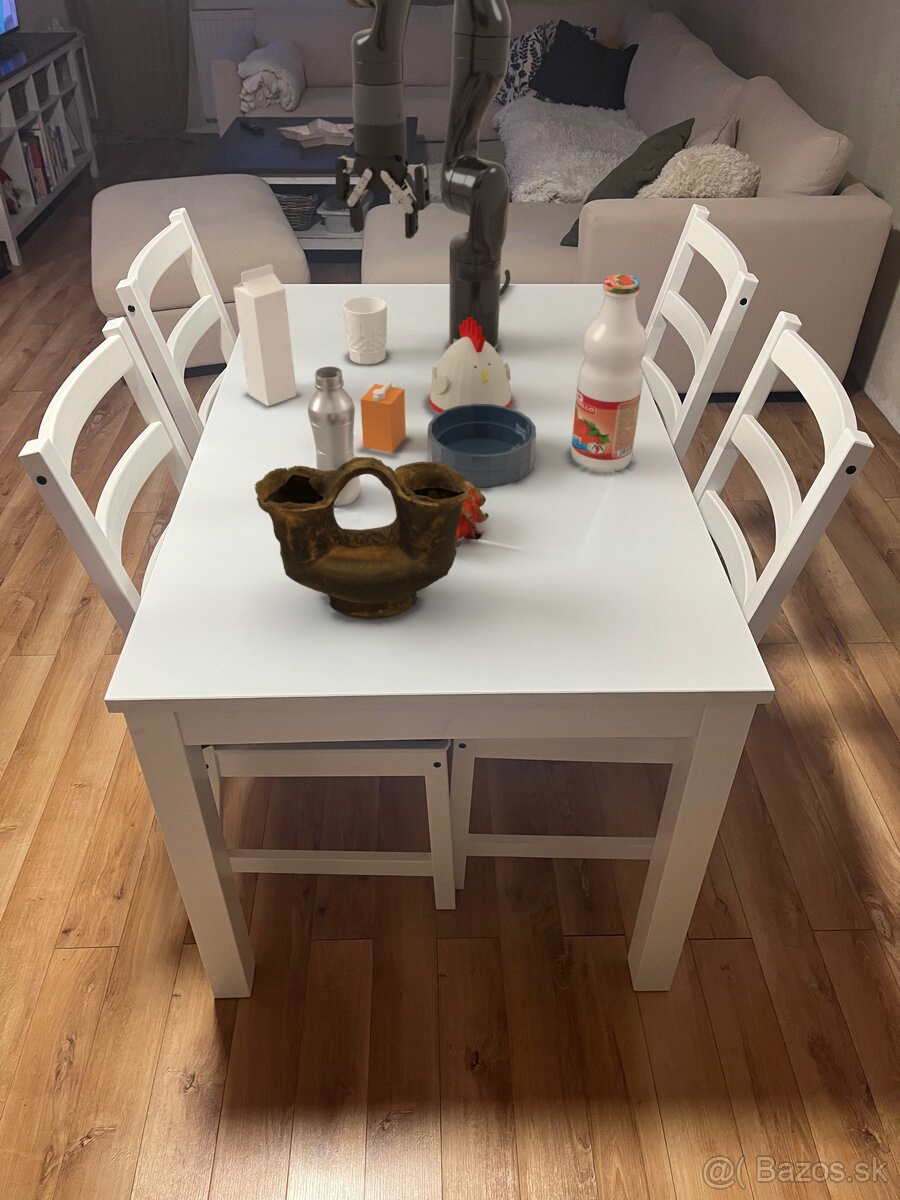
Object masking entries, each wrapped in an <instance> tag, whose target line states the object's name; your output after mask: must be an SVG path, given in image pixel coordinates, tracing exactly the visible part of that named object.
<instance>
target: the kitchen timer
mask: <svg viewBox="0 0 900 1200" xmlns="http://www.w3.org/2000/svg"><path fill="white" fill-rule="evenodd" d="M459 329H460V336H461V339H459V340H457V341H456V342H454V343H453V344H452V345H451V346H450V347H449V346H448V348H447V349H446V350H445V352H444V353H443V355H442V356H441V357H440V359H439V361H438V363H437V365H436V366H432V370H431V379H430V381H431V382H430V387H429V404H430V406H431V408H432V409H433V410H435V411H436V412H437V413H438V414H439V413H441V412H443V411H444V410H447V409H450V408H453V407H457V406H461V405H469V404H492V405H498V406H504V407H508V408H510V407H511V404H512V390H511V384H510V381H511V378H512V377H511V370H510V369H511V368H510V365H509V363H508V362H505V363H504V361H503V359H502V358H501V356H500V354H499V353H498V352H497V351H495V349H494V348H493V347H492V346H491V345H490V344H489V343H488V342H486V341H485V337H482V326H478V327H477V321H473V317H469V318H467V320H465V321H463V324H459Z"/></svg>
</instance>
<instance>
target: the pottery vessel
mask: <svg viewBox="0 0 900 1200" xmlns="http://www.w3.org/2000/svg"><path fill="white" fill-rule="evenodd" d="M363 475H371V476H373V477H375V478H377V479H378V480H379V481H380V482H381V484H382V485H383V486H384V487H385V488H386V489H387V490H389V492H390V495H391V498H392V501H393V505H394V508H395V519H394V520H393V521H392V522H391V523H390V524H388V525H385V526H379V527H372V528H364V529H355V528H343V527H341V525H339V524H338V521H337V519H336V517H335V510H334V509H335V506H334V502H335V500H336V499H337V497H338V495H339V493H340V492H341V491H342V490H343V488H344V487H345V486H346V484H347V483H348V482H349V481H350V480H351V479H353V478H355V477H358V476H359V477H360V476H363ZM464 479H465V477H464V476H461V475H460V474H459V473H458V472H456V471H454V470H452V469H451V468H449V467H448V466H447V465H445V464H441V463H439V462H428V461H416V462H410V463H407V464H403V465H399V466H398V467H396V468H395V469H393V468H392V467H391V466H388V465H386V464H385V463H384V462H383V461H382V459H377V458H375V457H374V456H373V457H372V456H355V458H353V459H351V460H350V461H348V462H346V463H344V464H342V465H341V466H340V467H339V468H338V469H337V470H331V471H322V470H318V469H317V468H315V467H310V466H307V465H306V466H305V465H294V466H291V467H284V468H282V467H279V468H274V469H273V470H270V471H268V473H267V474H264V476H263V478H262V479H260V480H257V481H256V483H255V484H254V490H255V493H256V498H255V499H256V501H257V504H258V507H259V508H260V509H261V510H262V511H264V512H265V513H267V514H268V515H269V517H270V519H271V522H272V527H273V528H272V529H273V534H274V537H275V539H276V540H277V542H278V543H279V546H280V548H279V549H280V551H279V555H280V557H281V561H282V564H283V565H282V566H283V570H284V574H285V575H286V576H287V578H288V579H290V580H292V581H293V582H295V583H297V584H299V585H301V586H303V587H305V588H307V589H311V590H313V591H316V592H318V593H322V594H325V595H326V596H328V599H329V602H328V603H329V606H330V607H331V609H332V610H333V611H335V612H338V613H340V614H341V615H343V616H345V617H350V618H352V619H359V620H378V619H380V620H381V619H389V618H394V617H397V616H398V615H400V614H402V613H404V612H406V611H409V610H410V609H411V608H412V607H414V606H416V605H417V604H418V600H419V596H418V592H419V591H422V590H425V589H426V588H428V587H430V586H431V585H433V584H434V583H436V582H438V581H439V580H441V579H442V578H444V577H446V576H448V574H449V572H450V571H451V569H452V567H453V565H454V562H455V559H456V556H457V548H456V547H455V538H456V533H457V529H458V525H459V521H460V518H461V516H462V515H461V510H462V506H463V503H464V501H465V499H466V498H468V497H469V493H470V491H471V489H470V487H469V486H467V485H466V484H465V481H464Z"/></svg>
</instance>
